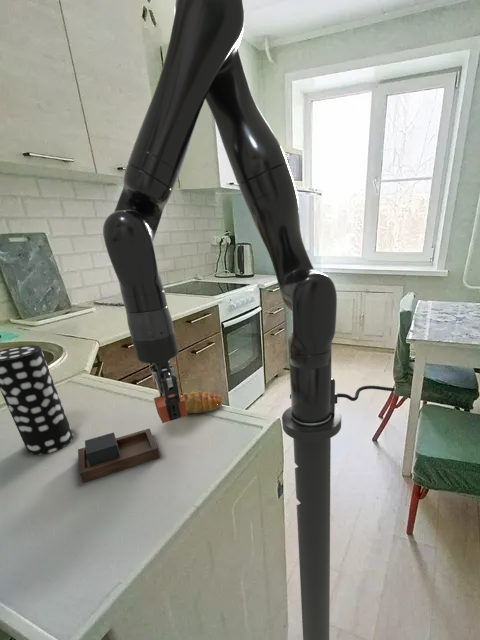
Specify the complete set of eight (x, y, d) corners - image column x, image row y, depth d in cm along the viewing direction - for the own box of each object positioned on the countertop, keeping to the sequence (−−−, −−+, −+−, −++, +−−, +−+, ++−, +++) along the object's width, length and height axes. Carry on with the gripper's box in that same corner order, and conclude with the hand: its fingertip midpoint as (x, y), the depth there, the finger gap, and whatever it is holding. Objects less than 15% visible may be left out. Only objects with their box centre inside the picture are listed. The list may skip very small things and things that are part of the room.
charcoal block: (118, 447, 69) (113, 432, 68) (121, 460, 65) (116, 444, 64) (90, 455, 67) (84, 440, 65) (91, 470, 63) (85, 454, 62)
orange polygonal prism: (181, 405, 75) (178, 391, 73) (187, 415, 71) (184, 400, 69) (157, 412, 73) (153, 397, 71) (162, 423, 69) (158, 407, 67)
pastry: (223, 399, 88) (221, 385, 86) (221, 412, 82) (219, 398, 80) (185, 402, 87) (182, 388, 85) (180, 416, 81) (177, 401, 79)
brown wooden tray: (151, 437, 74) (149, 428, 73) (160, 457, 67) (157, 448, 66) (81, 458, 68) (77, 449, 67) (82, 483, 61) (78, 473, 61)
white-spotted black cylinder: (70, 427, 79) (38, 342, 70) (76, 443, 73) (42, 352, 64) (26, 441, 74) (-14, 352, 66) (28, 460, 68) (-15, 364, 60)
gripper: (183, 337, 60) (200, 422, 68) (165, 320, 71) (181, 394, 79) (137, 347, 57) (160, 435, 64) (126, 327, 68) (146, 404, 76)
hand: (172, 412), depth 72 cm, fingers closed on orange polygonal prism, 5 cm apart
